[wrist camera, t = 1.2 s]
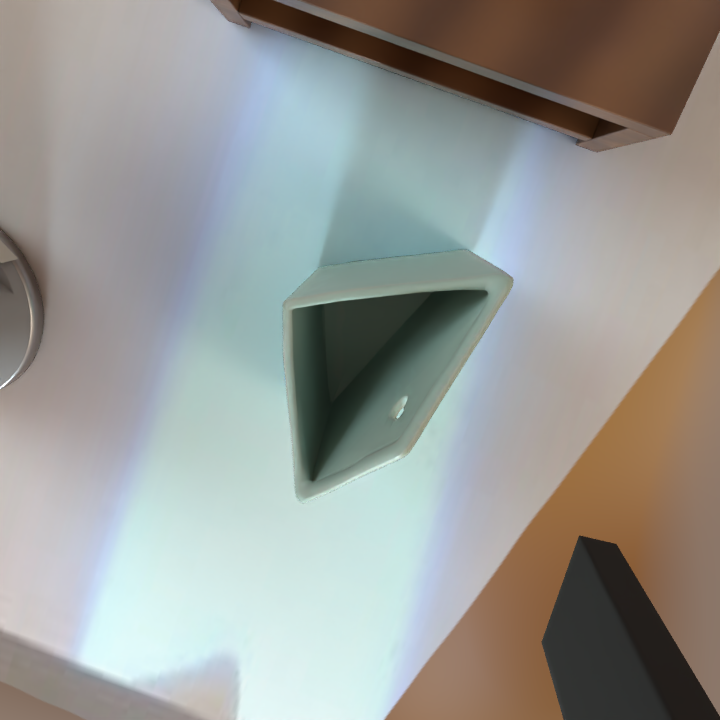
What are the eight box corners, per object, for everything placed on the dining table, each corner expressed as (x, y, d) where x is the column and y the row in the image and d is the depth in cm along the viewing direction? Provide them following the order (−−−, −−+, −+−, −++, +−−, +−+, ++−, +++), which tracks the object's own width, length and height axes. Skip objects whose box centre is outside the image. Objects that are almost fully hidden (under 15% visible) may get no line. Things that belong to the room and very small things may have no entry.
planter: (391, 179, 38) (396, 156, 19) (474, 254, 39) (558, 306, 20) (250, 350, 42) (135, 475, 23) (329, 413, 43) (283, 583, 24)
